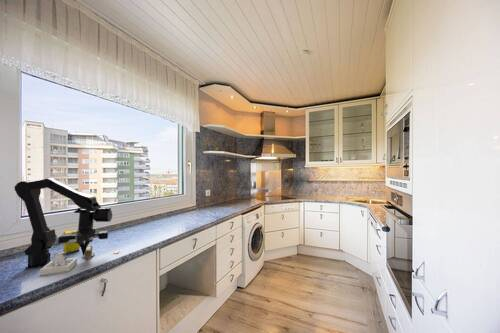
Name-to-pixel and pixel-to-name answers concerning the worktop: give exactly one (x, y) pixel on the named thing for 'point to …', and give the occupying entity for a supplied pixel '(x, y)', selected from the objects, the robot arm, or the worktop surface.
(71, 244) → the supplement box
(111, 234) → the worktop surface
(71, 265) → the tray
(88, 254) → the crank arm
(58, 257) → the stop plug
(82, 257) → the crank base
